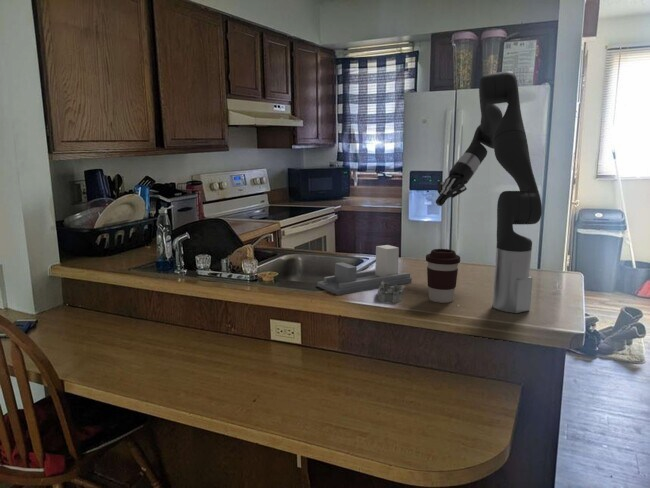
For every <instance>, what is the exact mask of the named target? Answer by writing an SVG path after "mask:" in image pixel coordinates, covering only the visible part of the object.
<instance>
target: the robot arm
mask: <svg viewBox="0 0 650 488" xmlns="http://www.w3.org/2000/svg"><path fill="white" fill-rule="evenodd" d="M518 84H519V83H518V79H517V76H516V74H515V73H514V71H510V70H508V71H505V70H504V71H499V72H492V73H487V74H484V75H483V76H481V78H480V80H479V85H478V93H479V95H478V96H479V108H480V113H481V114H480V124H479V125H477V127H476V129H475V131H474V134H473V137H472V139H471V142H470V145H469V146H468V147H467V149H466V150H465V152H463V154H462V155H461V156H460V157H459V158H458V160H457V161H456V162H455V164H454V165H453V166H452V167H451V169H450V170H449V172H448V177H447V178H445V179H444V181H442V182H441V181H438V182H437V193H438V194H439V195H438V197H437V199H436V200H435V204H436V205H437V206H440V207H442V206H443V205H444V204H445V203H446V201H447V200H449V199H450V198H451V199H454V198H455V197H457V196H458V195H460V194H461V193H464V192H465V191H467V187H466V185H467V184H468V183H469V181H470V180H471V178H472V177H473V176H474V174H475V173H476V172H477V171H478V169H479V167H480V165H481V164H482V163H483V161H484V160H485V158H486V157H487V156H488V155H487V154H488V150H487V148H486V147H488V148H490V149H493V150H494V157H495V159H496V160H497V163H498V164H500V166H501V167H502V168H503V169H504V171H506V172H507V173H508V174H509V175H510V176H511V177H512V178H513V180H514V181H515V183H516V184H517V186H518V189H519V190H504V191H501V193H500V194H499V196H498V199H497V207H496V248H495V249H496V250H495V265H494V278H493V280H494V281H493V293H492V294H493V295H492V308H494V309H496V310H498V311H501V312H506V313H514V314H520V313H523V312H528V311H531V301H532V291H533V277H532V276H530V273H531V260H532V249H533V241H532V239H531V238H530V237H526V236H523V235H521V234H518V233H517V232H516V231H514V225H535V224H537V223H538V222H539V221H540V220H541V218H542V214H543V213H542V212H543V207H542V200H541V199H542V198H541V195H540V192H539V188H538V185H537V182H536V178H535V176H534V172H533V168H532V162H531V157H530V152H529V145H528V138H527V134H526V130H525V126H524V125H525V124H524V121H523V120H524V119H523V117H522V116H523V115H522V109H521V101H520V93H519V85H518ZM504 103H507V107H506V110H505V112H504V114H503V112H502V110H501V109H500V107H499V106H497V105H498V104H504ZM485 146H486V147H485Z"/></svg>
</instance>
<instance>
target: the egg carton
mask: <svg viewBox="0 0 650 488" xmlns="http://www.w3.org/2000/svg"><path fill="white" fill-rule="evenodd" d="M405 286H406V285H405V284H403V285H402V284H399V285H393V286H390V284H389V283H385V282H384V281H382V282H381V285H380V287H379V288H377V295H378V297H377V300H378V301H380V302H387V301H388V302H392V303H398V302H401V301H402V298H403V295H404V289H405Z"/></svg>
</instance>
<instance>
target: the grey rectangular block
mask: <svg viewBox="0 0 650 488" xmlns="http://www.w3.org/2000/svg"><path fill="white" fill-rule="evenodd" d="M357 269H358V268H357V266H354V265H352V264H348V263H347V262H336V263H334V276H335V281H336V282H338V283H344V282H352V281H356V273H357V271H358V270H357Z"/></svg>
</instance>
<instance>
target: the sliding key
mask: <svg viewBox="0 0 650 488" xmlns="http://www.w3.org/2000/svg"><path fill="white" fill-rule="evenodd" d="M399 251H400V248H399V246H398V247H397V246H393V245H390V244H385V245H376V246H375V270H376V271H375V275H377V276H380V277H382V276H388V275H395V274H399V258H400V256H399V253H400V252H399Z"/></svg>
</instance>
